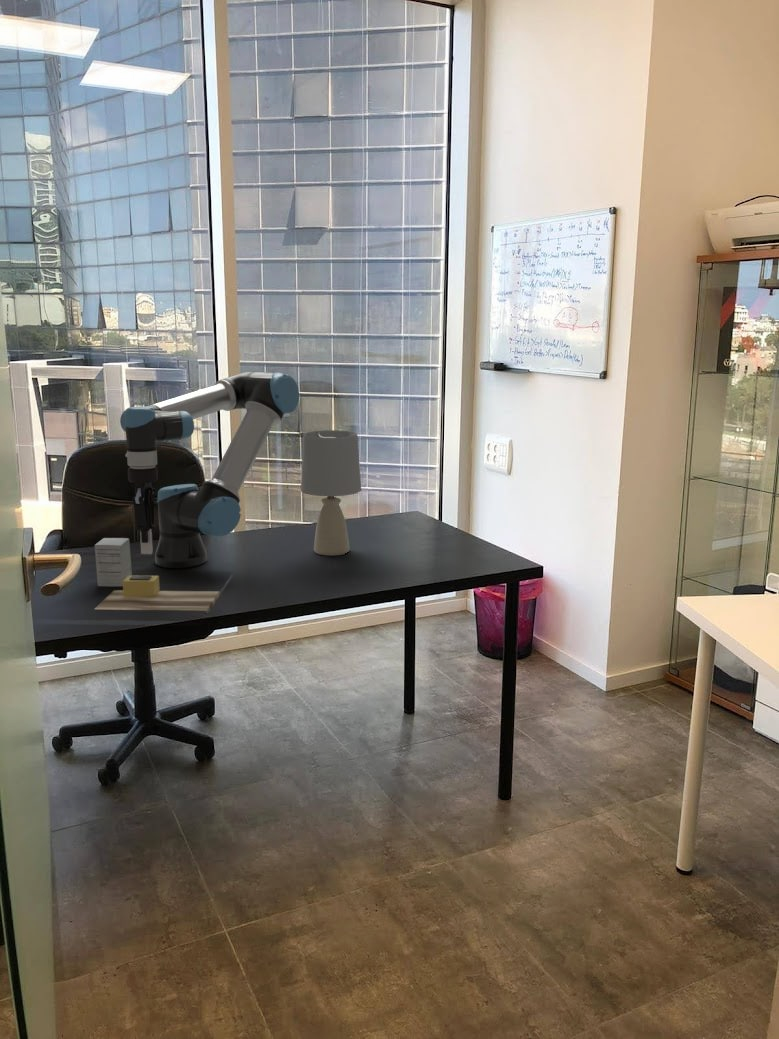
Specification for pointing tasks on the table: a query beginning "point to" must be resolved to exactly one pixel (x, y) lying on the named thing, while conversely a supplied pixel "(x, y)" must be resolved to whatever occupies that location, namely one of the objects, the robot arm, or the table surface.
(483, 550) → the table surface
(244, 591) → the table surface
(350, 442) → the lamp
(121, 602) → the plywood panel
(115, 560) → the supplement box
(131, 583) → the block
